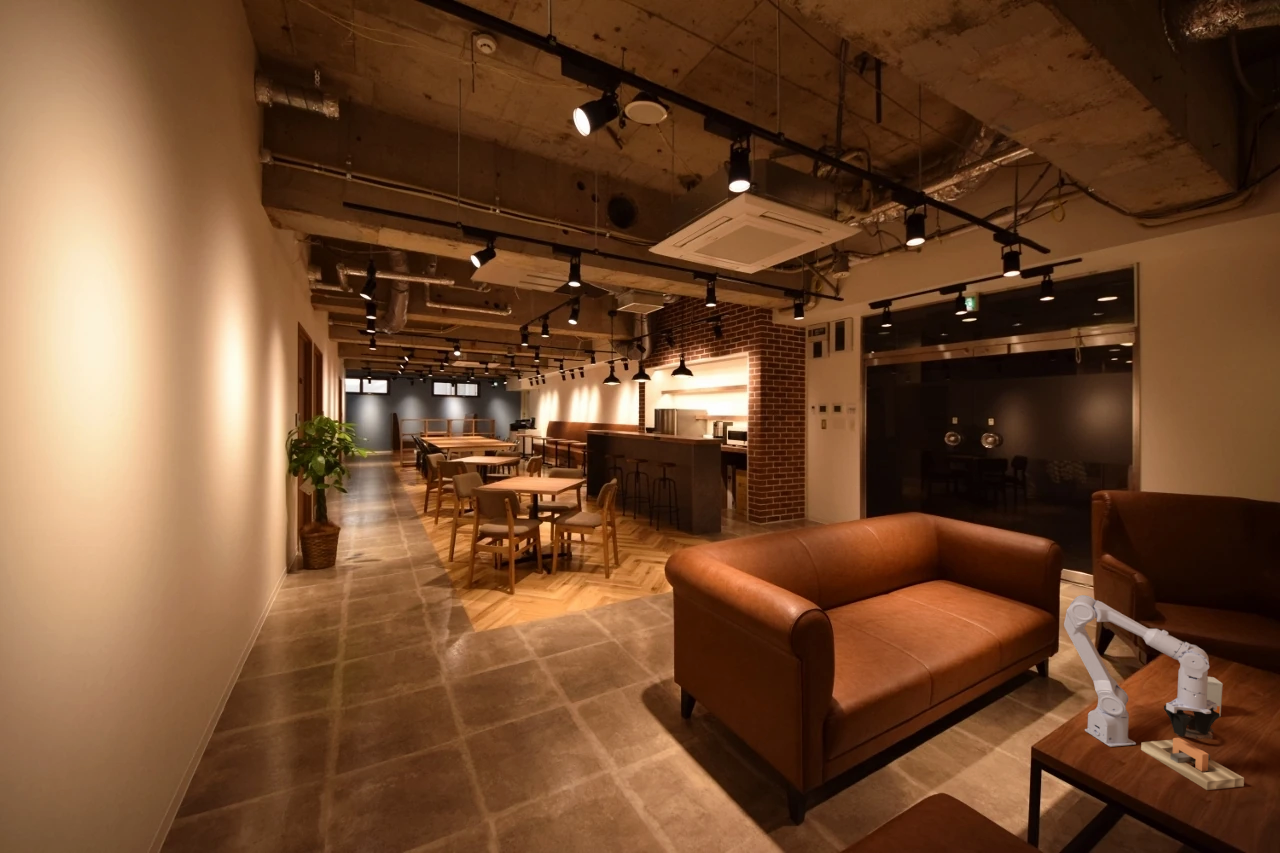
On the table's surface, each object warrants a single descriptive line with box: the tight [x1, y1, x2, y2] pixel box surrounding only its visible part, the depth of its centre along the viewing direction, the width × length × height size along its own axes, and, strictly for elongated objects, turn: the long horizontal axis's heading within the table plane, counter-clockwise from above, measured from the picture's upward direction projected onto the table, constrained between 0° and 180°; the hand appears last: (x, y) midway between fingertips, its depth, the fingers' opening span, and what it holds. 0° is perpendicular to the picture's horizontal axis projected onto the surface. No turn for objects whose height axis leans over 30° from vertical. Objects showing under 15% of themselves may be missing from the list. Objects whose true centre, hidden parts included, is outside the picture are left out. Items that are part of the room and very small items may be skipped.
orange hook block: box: [1172, 737, 1209, 772], centre depth 143 cm, size 2×7×5 cm, turn 7°
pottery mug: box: [1176, 711, 1215, 740], centre depth 158 cm, size 12×10×8 cm
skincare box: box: [1207, 676, 1224, 717], centre depth 169 cm, size 6×4×12 cm
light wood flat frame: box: [1140, 739, 1245, 791], centre depth 143 cm, size 12×16×4 cm
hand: (1190, 733), depth 143 cm, fingers open, 7 cm apart
